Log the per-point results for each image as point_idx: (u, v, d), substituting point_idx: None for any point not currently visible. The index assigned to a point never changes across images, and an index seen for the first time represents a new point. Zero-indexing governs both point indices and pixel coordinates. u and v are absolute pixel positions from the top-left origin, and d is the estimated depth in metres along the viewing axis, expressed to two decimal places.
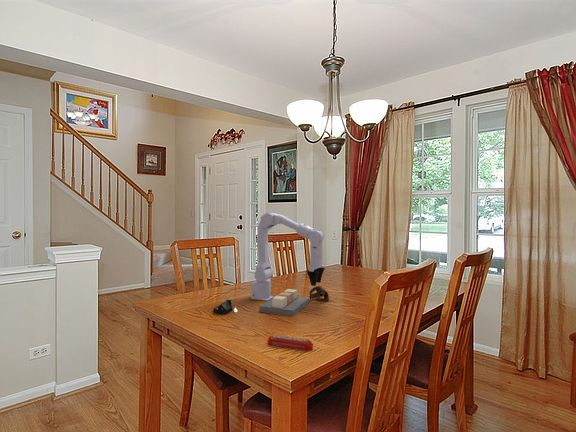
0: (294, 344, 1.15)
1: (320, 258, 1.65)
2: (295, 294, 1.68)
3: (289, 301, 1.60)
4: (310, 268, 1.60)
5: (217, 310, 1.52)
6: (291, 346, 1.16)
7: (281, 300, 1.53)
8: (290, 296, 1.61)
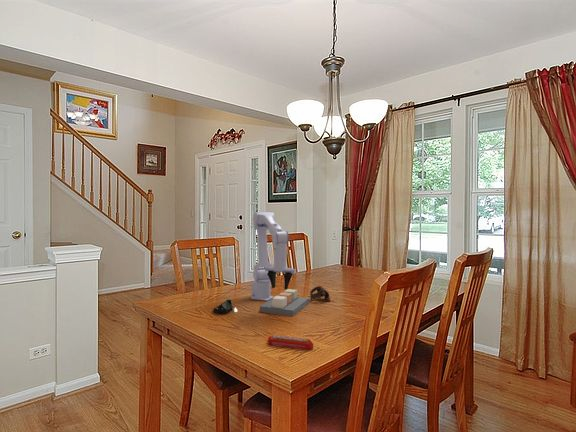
0: (294, 343, 1.16)
1: (275, 260, 1.53)
2: (295, 294, 1.68)
3: (289, 301, 1.60)
4: None
5: (217, 310, 1.52)
6: (291, 346, 1.16)
7: (281, 300, 1.53)
8: (290, 296, 1.61)
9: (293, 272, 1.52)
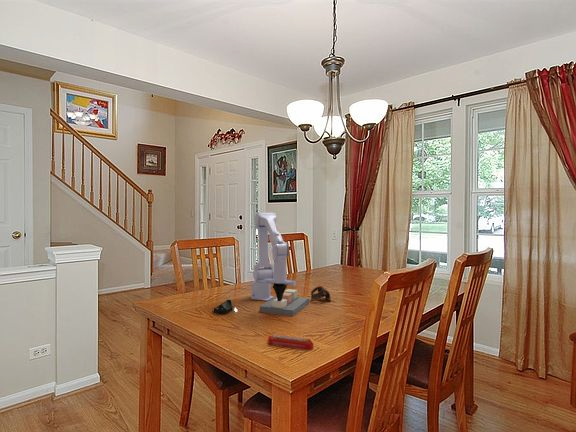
0: (294, 343, 1.16)
1: (275, 273, 1.54)
2: (295, 294, 1.68)
3: (289, 301, 1.60)
4: None
5: (217, 310, 1.52)
6: (291, 345, 1.16)
7: (281, 303, 1.53)
8: (290, 296, 1.61)
9: (293, 284, 1.52)
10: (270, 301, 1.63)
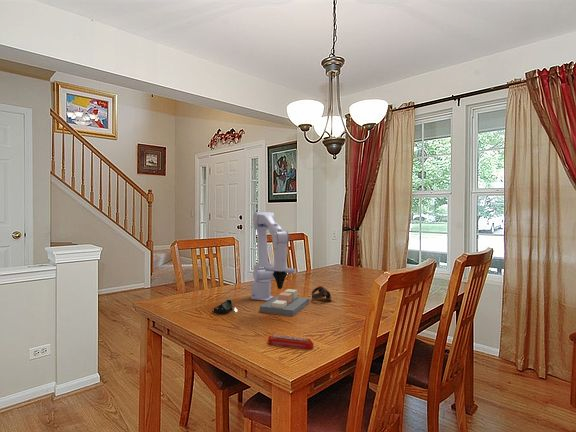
0: (295, 343, 1.16)
1: (275, 260, 1.54)
2: (295, 294, 1.68)
3: (289, 301, 1.60)
4: None
5: (217, 310, 1.52)
6: (292, 345, 1.17)
7: (281, 305, 1.53)
8: (290, 296, 1.61)
9: (293, 272, 1.52)
10: (270, 301, 1.63)
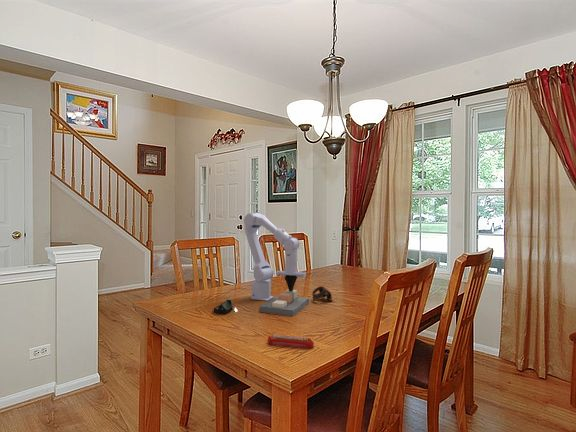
0: (295, 343, 1.16)
1: (286, 265, 1.67)
2: (295, 294, 1.68)
3: (289, 301, 1.60)
4: None
5: (217, 310, 1.52)
6: (292, 345, 1.17)
7: (281, 305, 1.53)
8: (290, 296, 1.61)
9: (303, 276, 1.65)
10: (270, 301, 1.63)
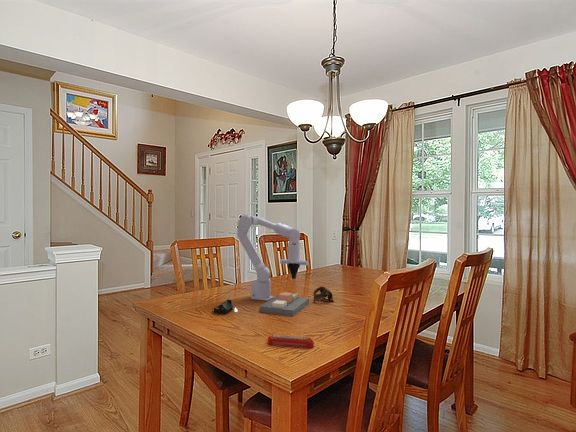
0: (295, 342, 1.17)
1: (289, 254, 1.75)
2: (295, 298, 1.68)
3: (289, 301, 1.60)
4: None
5: (217, 310, 1.52)
6: (292, 345, 1.17)
7: (281, 305, 1.53)
8: (290, 296, 1.61)
9: (305, 264, 1.74)
10: (270, 301, 1.63)
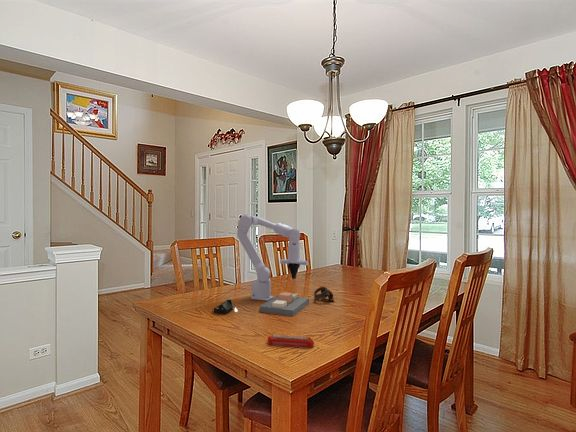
0: (296, 342, 1.17)
1: (290, 254, 1.76)
2: (295, 298, 1.68)
3: (289, 301, 1.60)
4: None
5: (217, 310, 1.52)
6: (293, 344, 1.17)
7: (281, 305, 1.53)
8: (290, 296, 1.61)
9: (305, 264, 1.74)
10: (270, 301, 1.63)
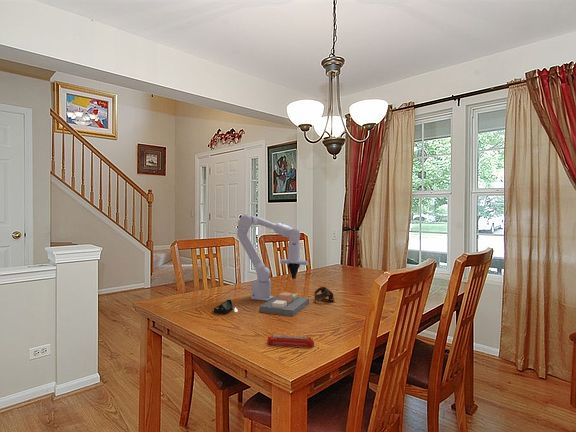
0: (296, 342, 1.17)
1: (290, 254, 1.76)
2: (295, 298, 1.68)
3: (289, 301, 1.60)
4: None
5: (217, 310, 1.52)
6: (293, 344, 1.17)
7: (281, 305, 1.53)
8: (290, 296, 1.61)
9: (305, 264, 1.74)
10: (270, 301, 1.63)
